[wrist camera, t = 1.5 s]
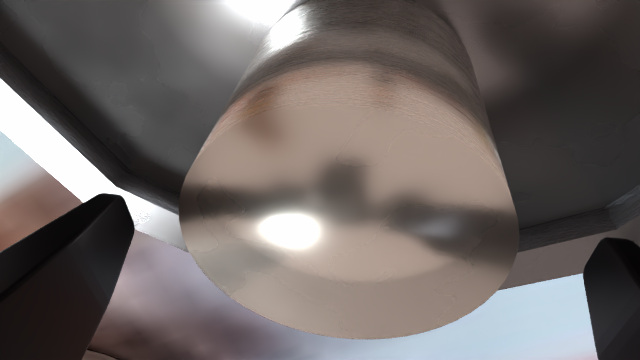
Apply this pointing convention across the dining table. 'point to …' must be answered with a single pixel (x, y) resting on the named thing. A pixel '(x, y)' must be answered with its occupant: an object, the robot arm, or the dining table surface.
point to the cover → (354, 177)
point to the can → (96, 356)
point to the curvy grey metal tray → (237, 52)
